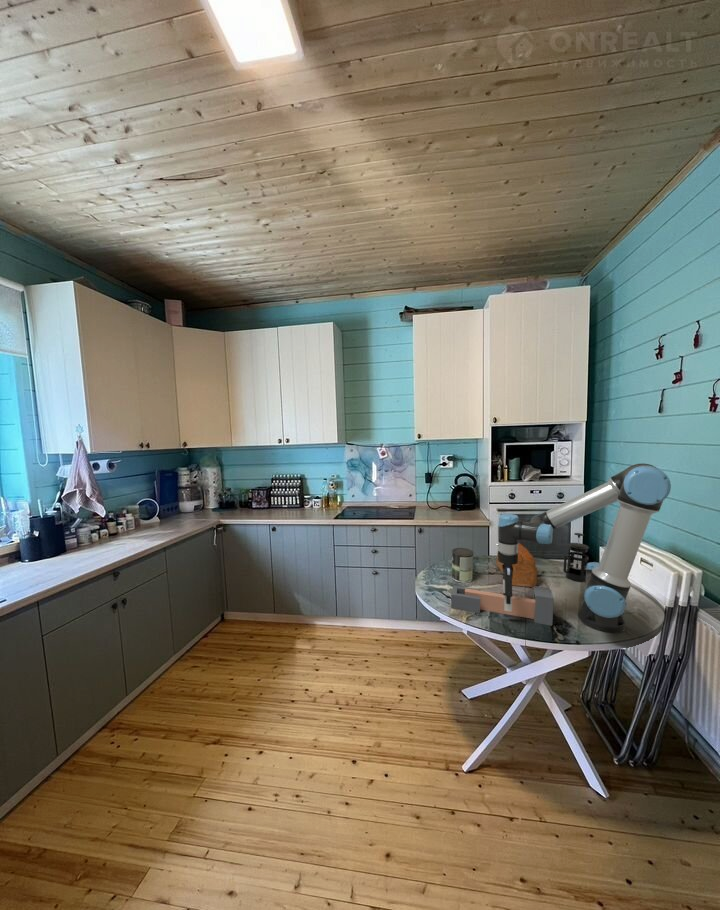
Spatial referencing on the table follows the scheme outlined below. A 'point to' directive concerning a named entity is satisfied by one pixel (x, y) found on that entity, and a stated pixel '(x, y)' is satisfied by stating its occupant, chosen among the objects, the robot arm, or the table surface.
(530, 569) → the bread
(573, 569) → the french press
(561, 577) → the table surface
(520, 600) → the slat
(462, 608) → the far end cap
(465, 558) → the coffee can
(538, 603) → the cap
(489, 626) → the table surface
